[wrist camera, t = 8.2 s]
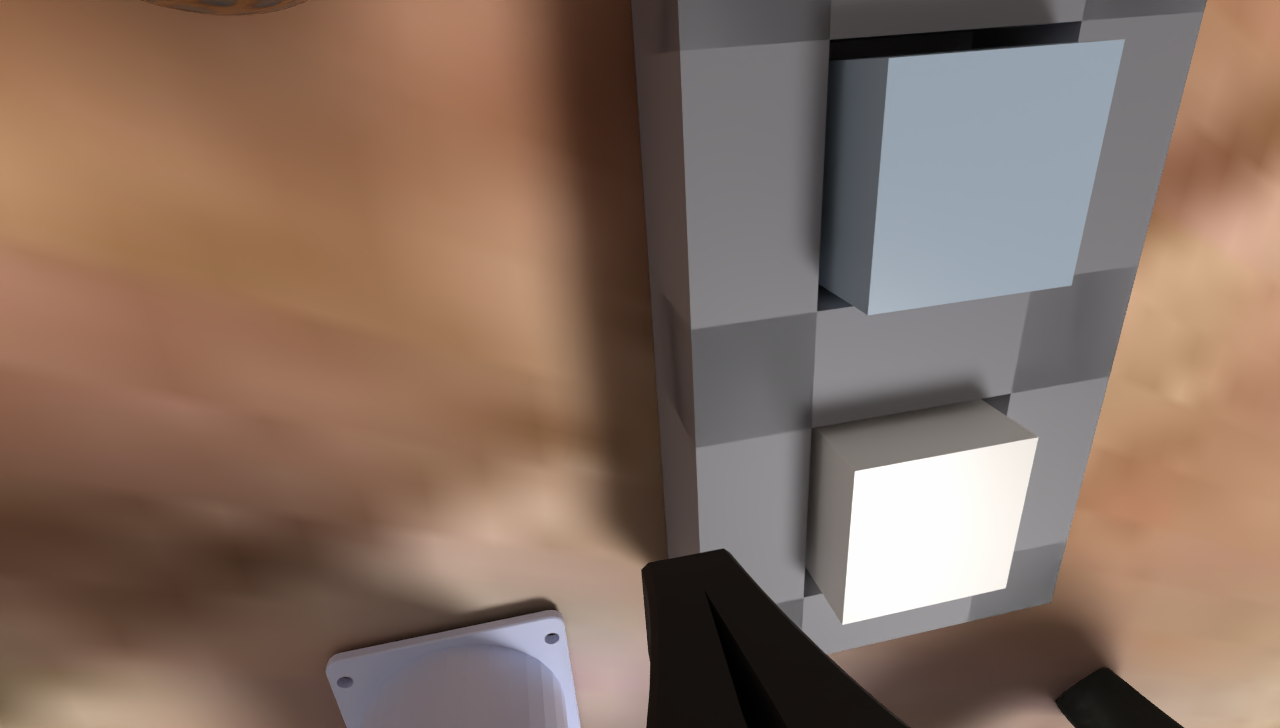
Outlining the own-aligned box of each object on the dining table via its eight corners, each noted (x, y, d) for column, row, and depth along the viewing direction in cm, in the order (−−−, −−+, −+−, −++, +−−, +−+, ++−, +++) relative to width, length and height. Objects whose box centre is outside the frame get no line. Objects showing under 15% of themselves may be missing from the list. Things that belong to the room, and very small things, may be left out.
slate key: (958, 244, 18) (1071, 285, 15) (791, 266, 17) (868, 315, 14) (985, 47, 16) (1125, 39, 13) (796, 62, 15) (888, 58, 12)
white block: (922, 505, 22) (1005, 588, 18) (783, 532, 21) (842, 624, 18) (940, 372, 20) (1038, 436, 16) (787, 397, 19) (854, 471, 16)
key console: (963, 520, 26) (1051, 602, 22) (669, 579, 24) (705, 682, 20) (1067, -84, 17) (1241, -132, 13) (626, -64, 15) (673, -113, 11)
